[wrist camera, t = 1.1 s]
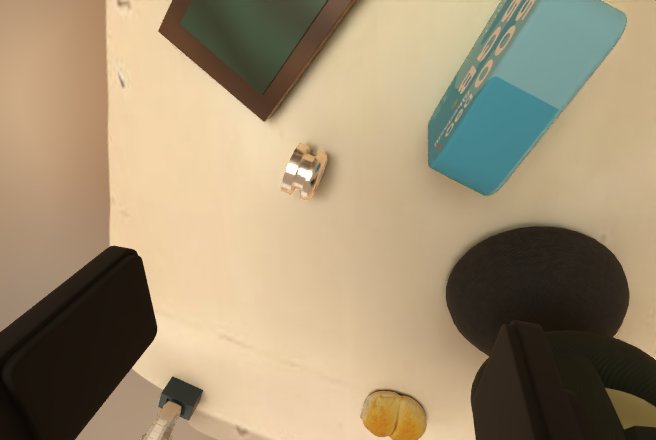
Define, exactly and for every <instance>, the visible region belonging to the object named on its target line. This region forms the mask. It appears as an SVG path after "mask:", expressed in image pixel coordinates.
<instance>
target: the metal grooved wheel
mask: <svg viewBox="0 0 656 440" xmlns="http://www.w3.org/2000/svg"><path fill="white" fill-rule="evenodd" d="M309 153H310V146H308V145H305V144H303V143H299V145H298V146H297V147H296V149H295V151H294V153H293V155H292V157H291V159H290V161H289V164H288V166H287V169H286V171H285V174H284V177H283V181H282V185H281V191H283V192H286V193H288V194H290V195H291V194H292V193H293V192H294V190H295V189H297V190H300V191H301V195H300V199H302V200H310V199H311V198H312V197H313V195H314V194H315V192H316V190H317V187H318V185H319V183H320V180H321V178H322V175H323V173H324V170H325V167H326V164H327V159H328V158H327V155H326V154H325V153H324V152H322V151H319V152H318V153H317V155H316V157H315V156H313V155H310V154H309Z"/></svg>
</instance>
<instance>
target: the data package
mask: <svg viewBox="0 0 656 440" xmlns="http://www.w3.org/2000/svg"><path fill="white" fill-rule="evenodd" d="M626 22H627V17H626V15H625V14H624V13H623V12H622V11H620V10H618V9H616V8H614V7H612V6H610V5H609V4H607V3H605V2H603V1H601V0H502V1H501V2H500V4H499V6H498V7H497V9H496V10H495V12H494V14H493V15H492V17H491V19H490V20H489V22H488V24H487V25H486V27H485V29H484V30H483V32H482V34H481V35H480V37H479V39H478V40H477V42H476V43H475V45H474V47H473V48H472V50H471V52H470V53H469V55H468V57H467V58H466V60H465V62H464V63H463V65H462V67H461V68H460V70H459V72H458V73H457V75H456V76H455V78H454V80H453V81H452V83H451V85H450V86H449V88H448V90H447V91H446V93H445V95H444V96H443V98H442V100H441V101H440V103H439V105H438V106H437V108H436V110H435V111H434V113H433V115H432V117H431V119H430V122H429V125H428V163H429V167H430V168H432V169H434V170H436V171H438V172H440V173H441V174H443V175H445V176H447V177H449V178H451V179H453V180H455V181H457V182H459V183H461V184H463V185H465V186H467V187H469V188H471V189H473V190H474V191H476V192H478V193H480V194H482V195H484V196H489V195H492V194H494V193H495V192H497V191H498V190H499V189H500V188H501V187H502V186H503V185H504V183H505V182H506V181H507V180H508V178H509V177H510V176H511V175H512V173H513V172H514V171H515V170H516V168H517V167H518V166H519V165H520V163H521V162H522V161H523V160H524V158H525V157H526V156H527V155H528V153H529V152H530V151H531V150H532V148H533V147H534V146H535V145H536V143H537V142H538V141H539V140H540V138H541V137H542V136H543V135H544V134H545V132H546V131H547V130H548V129H549V127H550V126H551V125H552V124H553V122H554V121H555V120H556V119H557V117H558V116H559V115H560V114H561V112H562V111H563V110H564V109H565V107H566V106H567V105H568V104H569V102H570V101H571V100H572V99H573V97H574V96H575V95H576V94H577V92H578V91H579V90H580V89H581V87H582V86H583V85H584V84H585V82H586V81H587V80H588V79H589V77H590V76H591V75H592V74H593V72H594V71H595V70H596V69H597V67H598V66H599V65H600V64H601V62H602V61H603V60H604V59H605V57H606V56H607V55H608V54H609V53H610V51H611V50H612V49H613V47H614V46H615V45H616V43H617V42H618V40H619V39H620V37H621V35H622V33H623V31H624V29H625V26H626Z"/></svg>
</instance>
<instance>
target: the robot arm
mask: <svg viewBox="0 0 656 440" xmlns="http://www.w3.org/2000/svg"><path fill="white" fill-rule="evenodd" d="M156 333H157V324H156V319H155V315H154V310H153V306H152V302H151V297H150V293H149V288H148V284H147V279H146V275H145V270H144V266H143V261H142V258H141V257H140V256H138V254H137V252H136V251H135V250H133V249H129V248H124V247H118V246H110V247H109V248H107V249H106V250H104V251H103V252H102V253H101V254H99V255H98V256H97V257H95V258H94V259H93V260H92V261H90V262H89V263H88V264H87V265H85V266H84V267H83V268H82V269H80V270H79V271H78V272H76V273H75V274H74V275H73V276H71V277H70V278H69V279H68V280H66V281H65V282H64V283H63V284H61V285H60V286H59V287H57V288H56V289H55V290H54V291H52V292H51V293H50V294H48V295H47V296H46V297H45V298H43V299H42V300H41V301H40V302H38V303H37V304H36V305H35V306H33V307H32V308H31V309H29V310H28V311H27V312H26V313H24V314H23V315H22V316H20V317H19V318H18V319H17V320H15V321H14V322H13V323H12V324H10V325H9V326H8V327H7V328H5V329H4V330H3V331H1V332H0V440H75V439H76V438H77V436H78V435H79V434H80V432H81V431H82V430H83V429H84V427H85V426H86V425H87V424H88V422H89V421H90V420H91V418H92V417H93V416H94V415H95V413H96V412H97V411H98V410H99V408H100V407H101V406H102V405H103V403H104V402H105V401H106V399H107V398H108V397H109V396H110V395H111V393H112V392H113V391H114V390H115V388H116V387H117V386H118V384H119V383H120V382H121V381H122V379H123V378H124V377H125V376H126V374H127V373H128V372H129V371H130V369H131V368H132V367H133V366H134V364H135V363H136V362H137V360H138V359H139V358H140V357H141V355H142V354H143V353H144V352H145V350H146V349H147V348H148V347H149V345H150V344H151V343H152V341H153V340H154V338H155V336H156ZM472 409H473V419H474V427H475V435H476V440H595V438H594V436H593V433H592V431H591V428H590V425H589V423H588V420H587V418H586V415H585V413H584V410H583V408H582V405H581V403H580V401H579V399H578V397H577V395H576V394H575V393H574V392H573V391H570V390H566V389H565V388H564V385H563V382H562V380H561V377H560V374H559V371H558V369H557V366H556V363H555V361H554V358H553V355H552V352H551V350H550V347H549V344H548V341H547V339H546V336H545V333H544V331H543V328H542V326H540V325H539V324H534V323H529V322H523V321H518V320H512V321H511V323H510V324H509V325H505V324H503V325H502V326H501V328H500V331H499V333H498V336H497V338H496V341H495V344H494V346H493V349H492V351H491V354H490V356H489V359H488V361H487V364H486V366H485V369H484V371H483V374H482V377H481V379H480V382H479V384H478V387H477V389H476V392H475V394H474V398H473V406H472Z"/></svg>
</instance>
